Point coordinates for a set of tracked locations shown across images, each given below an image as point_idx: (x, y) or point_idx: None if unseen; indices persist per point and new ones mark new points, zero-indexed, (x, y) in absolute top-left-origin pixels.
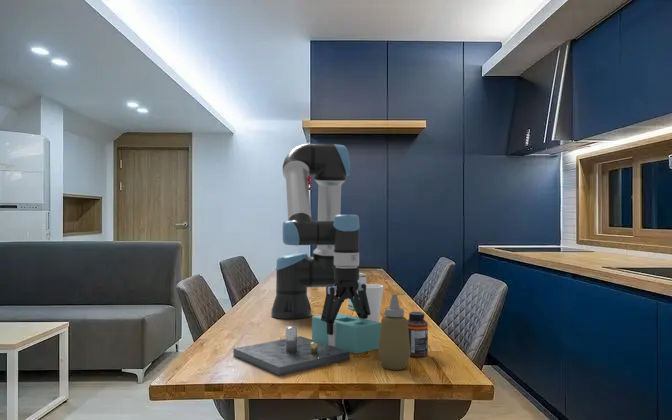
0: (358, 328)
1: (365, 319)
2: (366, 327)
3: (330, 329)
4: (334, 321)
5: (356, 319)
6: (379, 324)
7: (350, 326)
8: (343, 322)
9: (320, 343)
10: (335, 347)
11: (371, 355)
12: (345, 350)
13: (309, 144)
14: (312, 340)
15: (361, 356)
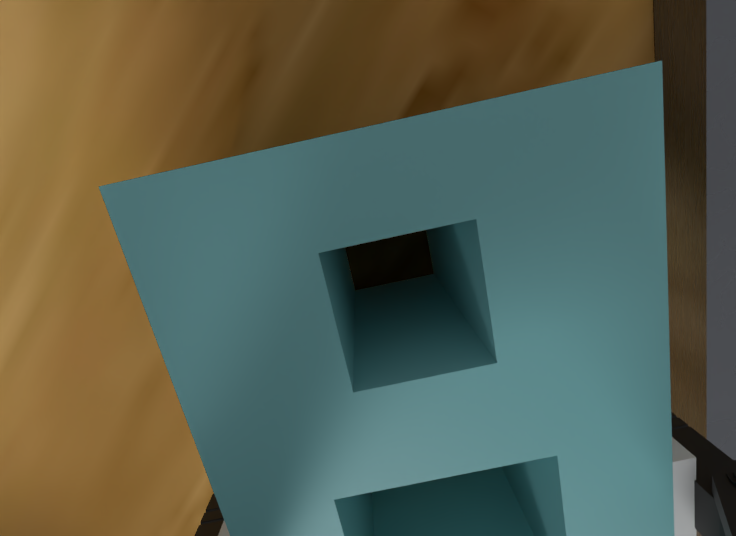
0: (608, 75)
1: (228, 487)
2: (441, 111)
3: (683, 428)
4: (713, 486)
5: (337, 530)
6: (169, 173)
7: (663, 203)
8: (589, 449)
9: (727, 331)
10: (715, 155)
11: (432, 5)
12: (713, 11)
13: None
14: (717, 433)
15: (520, 19)
